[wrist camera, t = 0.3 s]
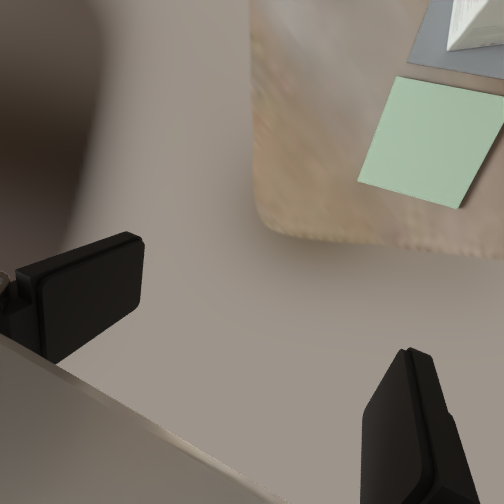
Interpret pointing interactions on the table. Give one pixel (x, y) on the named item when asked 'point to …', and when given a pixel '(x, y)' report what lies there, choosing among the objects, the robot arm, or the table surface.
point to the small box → (476, 24)
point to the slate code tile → (466, 60)
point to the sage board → (432, 140)
